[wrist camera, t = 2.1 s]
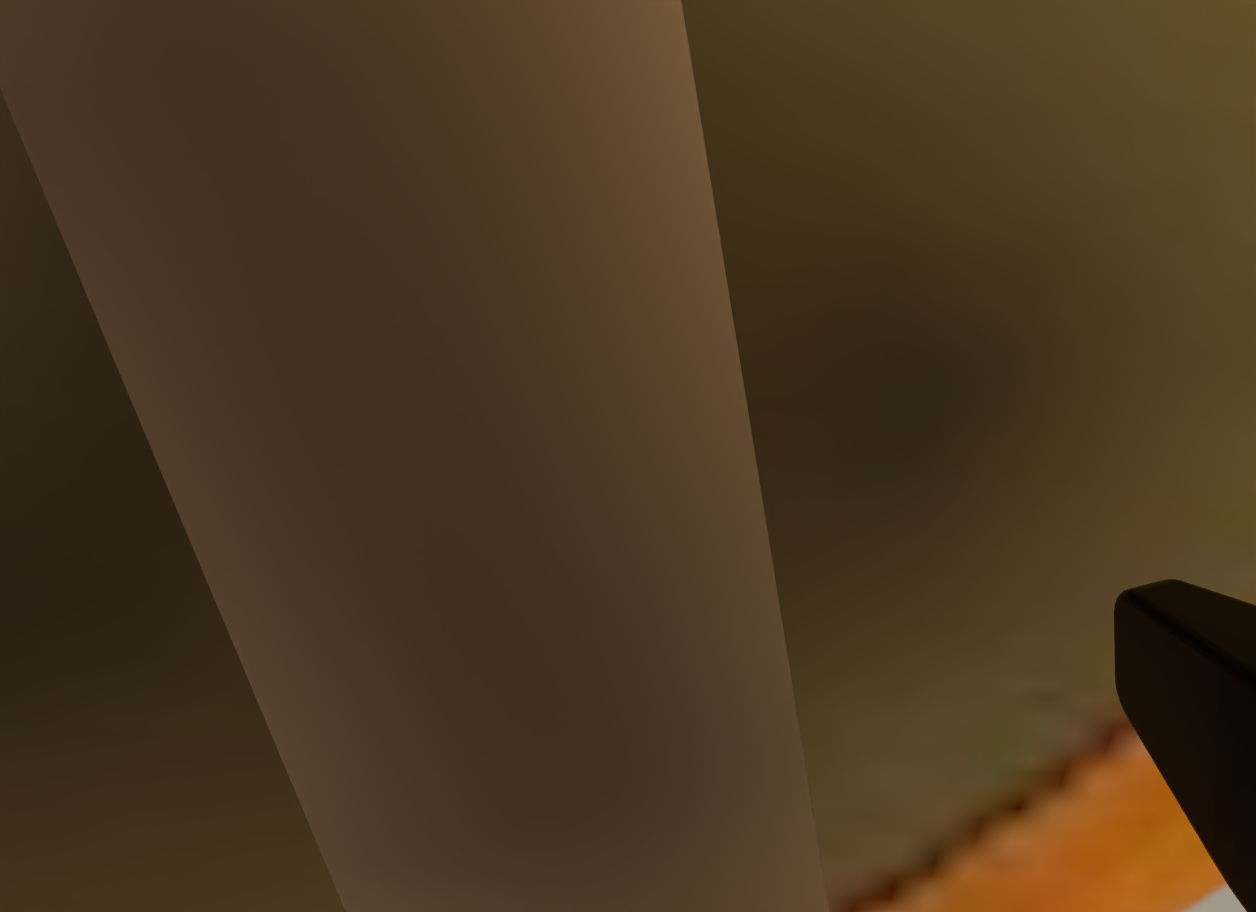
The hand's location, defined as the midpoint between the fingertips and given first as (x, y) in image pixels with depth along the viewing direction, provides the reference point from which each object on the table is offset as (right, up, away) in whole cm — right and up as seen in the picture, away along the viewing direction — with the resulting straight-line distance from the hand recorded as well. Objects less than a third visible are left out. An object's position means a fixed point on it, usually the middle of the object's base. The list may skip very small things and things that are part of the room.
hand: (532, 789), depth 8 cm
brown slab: (-1, +3, +6) cm, 7 cm away
